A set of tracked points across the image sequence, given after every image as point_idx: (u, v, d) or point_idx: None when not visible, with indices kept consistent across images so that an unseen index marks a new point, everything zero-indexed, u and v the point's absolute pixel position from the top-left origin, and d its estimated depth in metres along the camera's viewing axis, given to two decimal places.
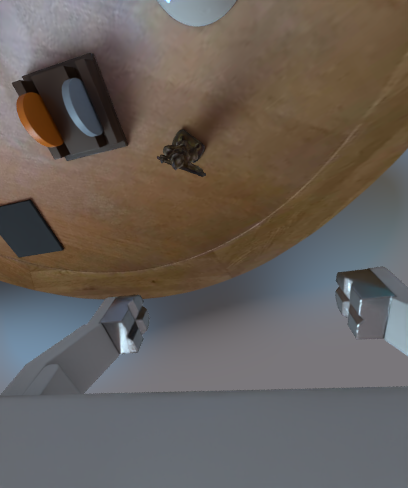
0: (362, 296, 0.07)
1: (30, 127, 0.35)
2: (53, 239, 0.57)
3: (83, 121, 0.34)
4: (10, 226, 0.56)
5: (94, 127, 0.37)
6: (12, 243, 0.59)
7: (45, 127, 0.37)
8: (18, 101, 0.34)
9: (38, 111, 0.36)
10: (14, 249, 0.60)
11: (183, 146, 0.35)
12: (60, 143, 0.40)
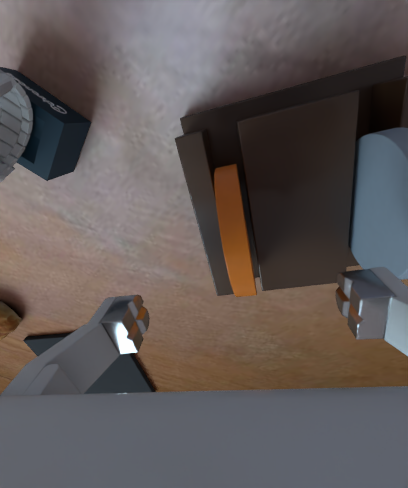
0: (362, 296, 0.07)
1: (248, 276, 0.11)
2: (143, 382, 0.32)
3: None
4: None
5: None
6: None
7: (250, 252, 0.14)
8: (223, 201, 0.11)
9: None
10: None
11: None
12: None
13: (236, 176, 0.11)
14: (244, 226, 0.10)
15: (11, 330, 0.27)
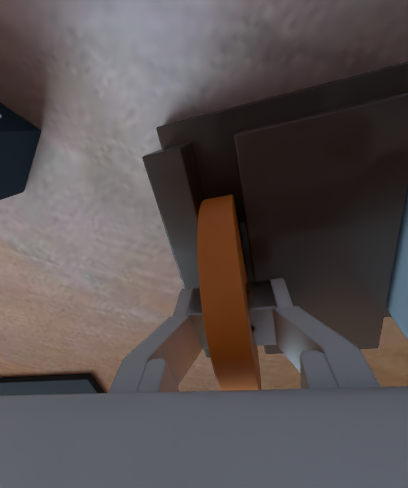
0: (250, 306, 0.08)
1: (249, 384, 0.07)
2: None
3: None
4: None
5: None
6: None
7: None
8: (209, 264, 0.06)
9: (243, 270, 0.09)
10: None
11: None
12: None
13: (232, 221, 0.07)
14: (244, 311, 0.06)
15: None
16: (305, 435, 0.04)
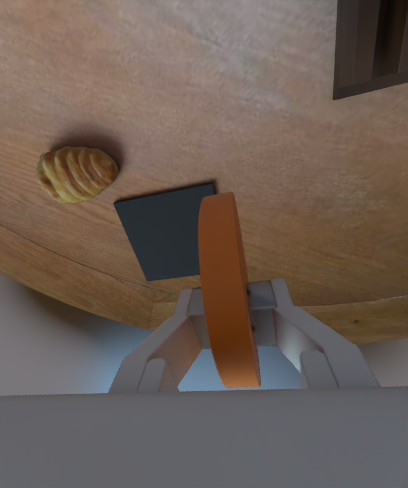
0: (250, 306, 0.08)
1: (249, 377, 0.07)
2: None
3: None
4: (156, 231, 0.33)
5: None
6: (146, 259, 0.36)
7: None
8: (210, 263, 0.07)
9: (243, 266, 0.09)
10: (146, 268, 0.36)
11: None
12: None
13: (232, 219, 0.07)
14: (244, 308, 0.06)
15: (111, 180, 0.28)
16: (305, 435, 0.04)
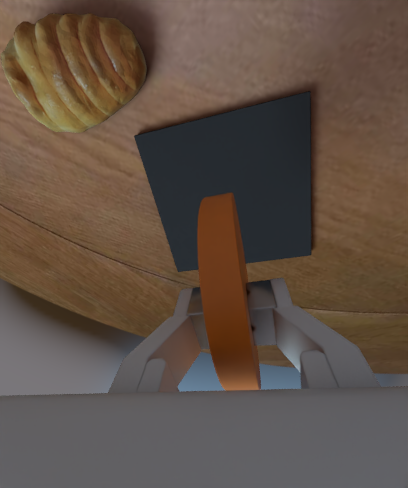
0: (250, 306, 0.08)
1: (249, 380, 0.07)
2: (305, 224, 0.21)
3: None
4: (201, 186, 0.20)
5: None
6: (179, 236, 0.23)
7: None
8: (209, 265, 0.07)
9: (243, 268, 0.09)
10: (179, 250, 0.24)
11: None
12: None
13: (232, 221, 0.07)
14: (244, 311, 0.06)
15: (135, 82, 0.16)
16: (305, 435, 0.04)
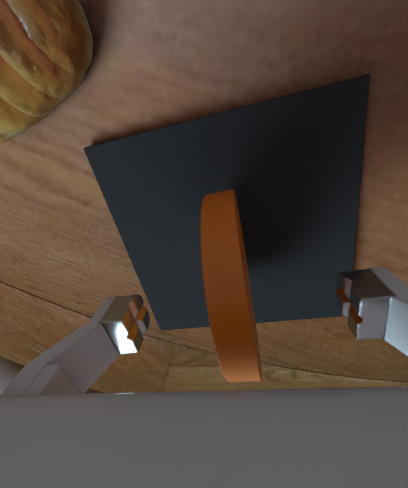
0: (362, 296, 0.07)
1: (250, 367, 0.07)
2: None
3: None
4: (189, 221, 0.14)
5: None
6: (161, 287, 0.16)
7: (252, 311, 0.10)
8: (212, 250, 0.07)
9: (244, 261, 0.09)
10: (161, 304, 0.17)
11: None
12: (256, 330, 0.12)
13: (233, 211, 0.07)
14: (245, 294, 0.06)
15: (70, 60, 0.09)
16: (305, 435, 0.04)
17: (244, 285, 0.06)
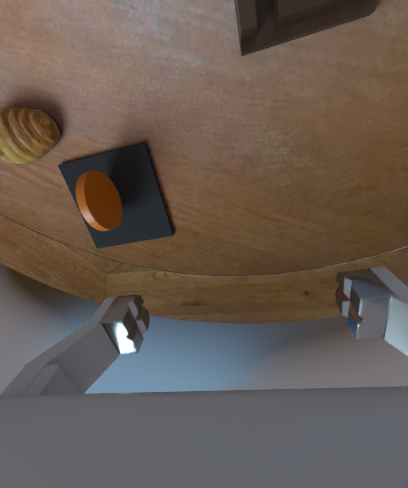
0: (362, 296, 0.07)
1: (85, 205, 0.27)
2: (163, 215, 0.35)
3: None
4: None
5: None
6: None
7: (102, 208, 0.30)
8: (80, 177, 0.28)
9: (99, 190, 0.30)
10: (95, 233, 0.38)
11: None
12: (114, 227, 0.32)
13: (91, 171, 0.29)
14: (84, 184, 0.27)
15: (51, 139, 0.31)
16: (305, 435, 0.04)
17: (84, 183, 0.27)
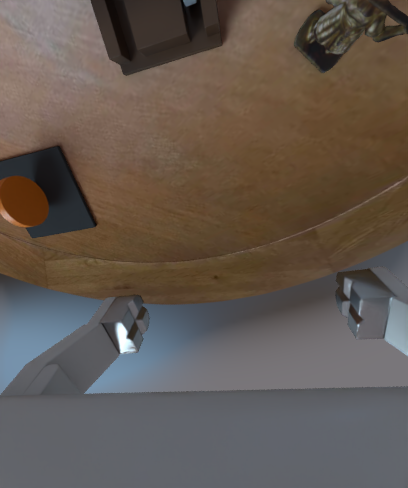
0: (362, 296, 0.07)
1: (4, 211, 0.33)
2: (84, 209, 0.40)
3: None
4: None
5: None
6: None
7: (24, 208, 0.35)
8: None
9: (18, 193, 0.35)
10: None
11: None
12: (39, 222, 0.38)
13: (6, 178, 0.33)
14: None
15: None
16: (305, 435, 0.04)
17: None
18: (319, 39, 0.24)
